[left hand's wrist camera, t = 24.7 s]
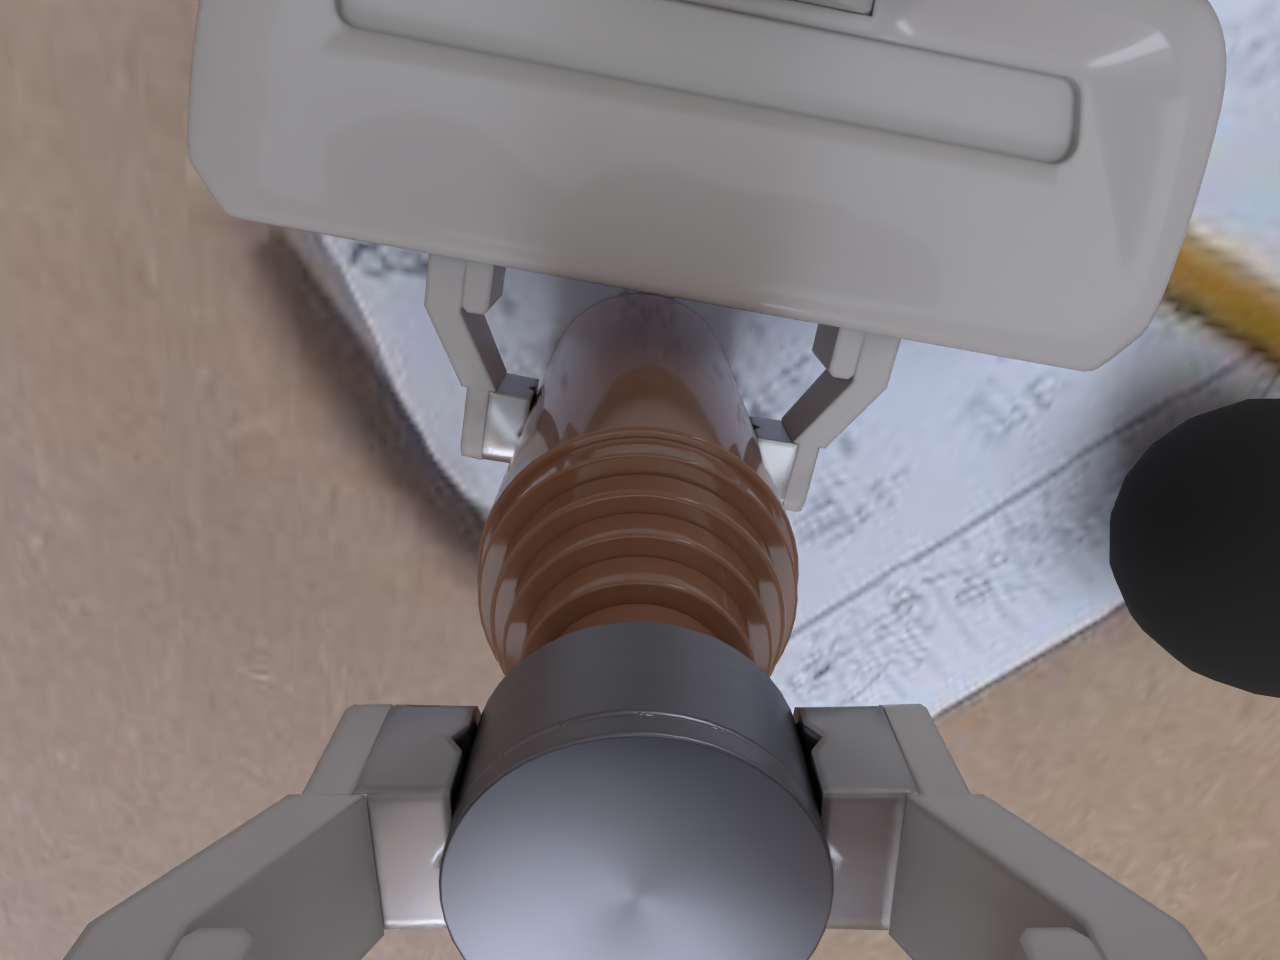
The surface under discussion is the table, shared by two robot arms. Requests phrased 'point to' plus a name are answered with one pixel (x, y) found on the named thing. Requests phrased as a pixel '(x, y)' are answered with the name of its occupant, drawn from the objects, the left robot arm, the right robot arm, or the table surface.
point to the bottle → (638, 495)
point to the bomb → (1207, 544)
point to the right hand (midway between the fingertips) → (634, 477)
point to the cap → (636, 809)
